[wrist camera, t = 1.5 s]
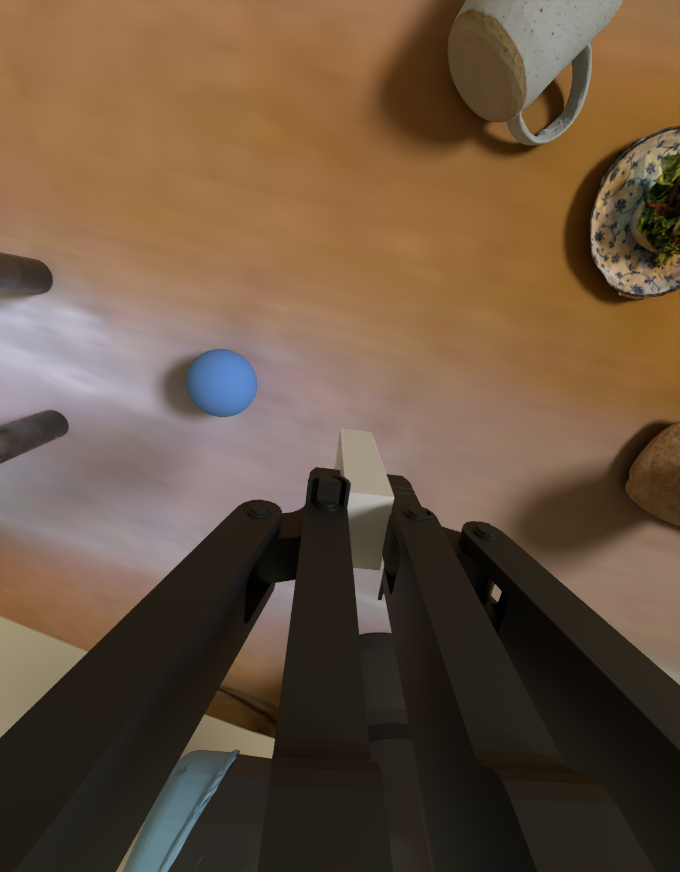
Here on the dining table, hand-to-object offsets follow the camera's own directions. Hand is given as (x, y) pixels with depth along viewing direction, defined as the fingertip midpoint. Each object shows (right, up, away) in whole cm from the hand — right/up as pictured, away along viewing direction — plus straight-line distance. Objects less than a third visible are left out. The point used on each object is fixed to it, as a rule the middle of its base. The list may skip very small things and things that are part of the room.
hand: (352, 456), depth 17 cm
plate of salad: (+25, +19, +12) cm, 33 cm away
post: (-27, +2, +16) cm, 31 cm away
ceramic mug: (+12, +27, +9) cm, 31 cm away
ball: (-10, +5, +12) cm, 17 cm away
